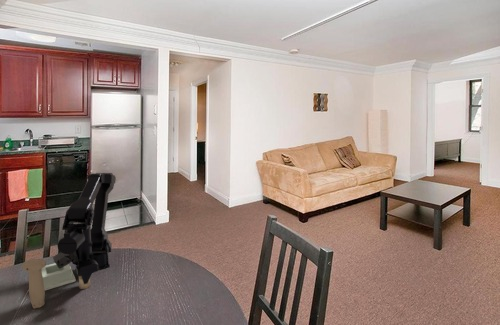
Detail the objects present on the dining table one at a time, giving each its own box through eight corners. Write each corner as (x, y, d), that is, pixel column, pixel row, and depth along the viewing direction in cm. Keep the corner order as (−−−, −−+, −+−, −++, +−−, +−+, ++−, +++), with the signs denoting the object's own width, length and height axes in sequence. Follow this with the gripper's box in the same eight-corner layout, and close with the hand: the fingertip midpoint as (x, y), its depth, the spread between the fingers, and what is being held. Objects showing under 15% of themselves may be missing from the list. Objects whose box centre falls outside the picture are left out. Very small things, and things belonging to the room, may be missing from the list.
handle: (36, 299, 95) (32, 257, 93) (53, 302, 94) (49, 260, 92) (22, 309, 91) (18, 265, 88) (40, 312, 90) (36, 268, 87)
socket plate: (70, 268, 114) (69, 258, 114) (75, 281, 106) (74, 270, 106) (36, 278, 107) (35, 266, 107) (39, 292, 99) (37, 280, 98)
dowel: (89, 282, 106) (87, 262, 104) (91, 286, 103) (89, 266, 102) (78, 285, 104) (77, 265, 102) (80, 290, 101) (78, 269, 100)
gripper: (50, 237, 102) (54, 277, 105) (58, 257, 88) (62, 303, 91) (86, 229, 109) (88, 267, 112) (98, 247, 95) (100, 290, 98)
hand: (84, 281), depth 103 cm, fingers closed on dowel, 3 cm apart
